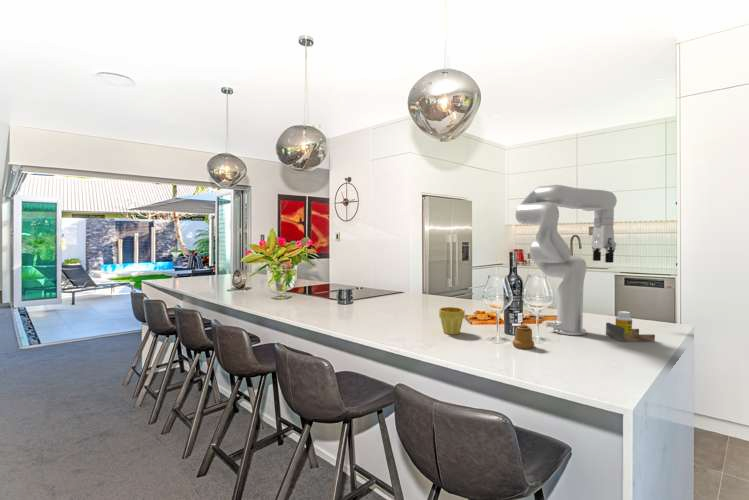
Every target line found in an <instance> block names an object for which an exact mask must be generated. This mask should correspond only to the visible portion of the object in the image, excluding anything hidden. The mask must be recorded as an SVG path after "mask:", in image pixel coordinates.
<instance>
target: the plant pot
mask: <svg viewBox="0 0 749 500" xmlns="http://www.w3.org/2000/svg"><path fill="white" fill-rule="evenodd" d="M465 313H466V310H465V309H464V308H462V307H458V306H457V307H454V306H446V307H441V308H439V310H438V316H439V318H440V321H441V322H440V323H441V325H442V332H443V334H444V335H445V334H446V335H453V336H455V335H459V334H460V333H461V328H462V325H463V320H464V319H465Z"/></svg>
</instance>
